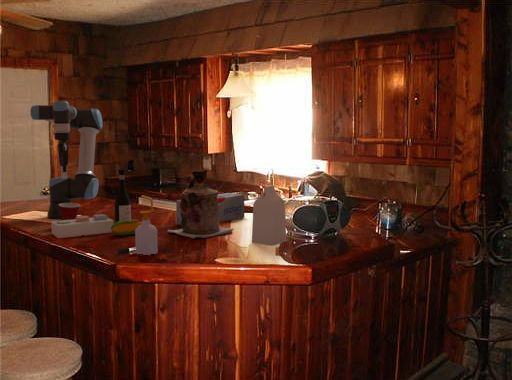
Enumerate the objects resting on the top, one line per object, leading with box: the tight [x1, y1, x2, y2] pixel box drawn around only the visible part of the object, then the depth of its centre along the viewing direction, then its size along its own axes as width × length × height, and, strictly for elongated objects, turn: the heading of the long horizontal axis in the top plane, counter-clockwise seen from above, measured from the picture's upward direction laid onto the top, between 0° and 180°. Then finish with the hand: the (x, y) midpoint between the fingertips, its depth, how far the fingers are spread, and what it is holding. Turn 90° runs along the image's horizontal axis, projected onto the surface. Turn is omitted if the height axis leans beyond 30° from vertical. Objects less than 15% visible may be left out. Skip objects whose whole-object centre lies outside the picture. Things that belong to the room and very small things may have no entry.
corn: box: [111, 218, 142, 237], centre depth 278 cm, size 7×8×20 cm
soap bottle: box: [134, 194, 159, 256], centre depth 237 cm, size 9×9×25 cm
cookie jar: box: [167, 168, 234, 239], centre depth 279 cm, size 25×25×32 cm
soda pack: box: [175, 192, 245, 226], centre depth 313 cm, size 41×13×14 cm, turn 137°
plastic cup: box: [59, 202, 81, 220], centre depth 296 cm, size 11×11×12 cm
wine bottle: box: [114, 168, 132, 223], centre depth 297 cm, size 8×8×30 cm
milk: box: [251, 184, 287, 247], centre depth 259 cm, size 12×12×26 cm
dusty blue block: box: [93, 213, 108, 221], centre depth 285 cm, size 5×5×5 cm
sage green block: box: [56, 219, 71, 224], centre depth 275 cm, size 5×5×5 cm
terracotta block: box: [76, 215, 90, 222], centre depth 280 cm, size 5×5×5 cm
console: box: [50, 217, 115, 239], centre depth 280 cm, size 13×27×6 cm, turn 122°
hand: (64, 178), depth 289 cm, fingers closed
